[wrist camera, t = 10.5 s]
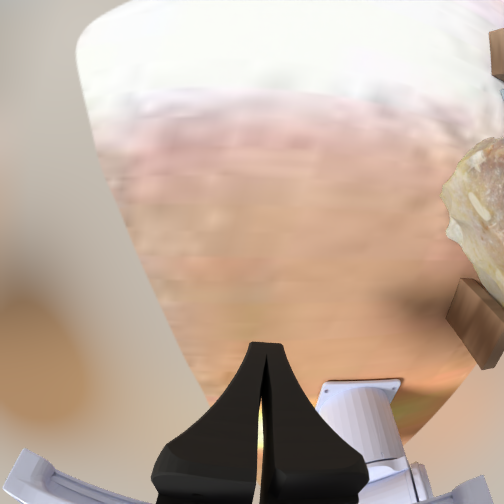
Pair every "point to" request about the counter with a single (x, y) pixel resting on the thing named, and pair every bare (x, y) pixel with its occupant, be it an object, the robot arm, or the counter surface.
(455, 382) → the counter surface
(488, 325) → the door frame
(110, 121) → the counter surface
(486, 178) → the stone
